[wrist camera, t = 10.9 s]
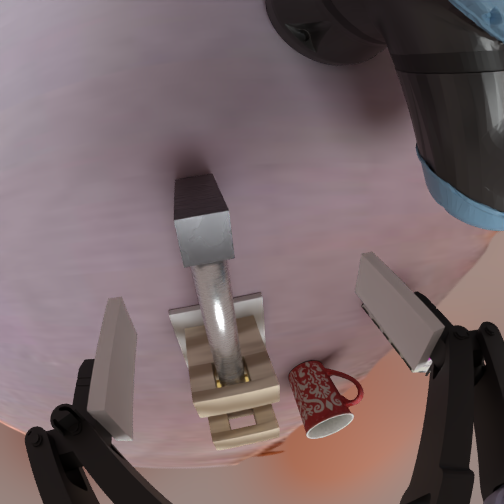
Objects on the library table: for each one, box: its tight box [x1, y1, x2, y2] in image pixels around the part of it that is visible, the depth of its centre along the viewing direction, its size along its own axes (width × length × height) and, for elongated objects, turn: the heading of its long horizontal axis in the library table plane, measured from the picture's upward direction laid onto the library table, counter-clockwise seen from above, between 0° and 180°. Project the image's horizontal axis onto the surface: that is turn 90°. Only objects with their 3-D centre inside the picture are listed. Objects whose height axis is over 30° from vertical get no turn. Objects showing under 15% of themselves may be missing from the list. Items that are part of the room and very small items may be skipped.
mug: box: [289, 361, 364, 439], centre depth 48 cm, size 13×9×14 cm
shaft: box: [174, 174, 246, 387], centre depth 31 cm, size 24×4×11 cm, turn 4°
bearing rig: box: [169, 293, 280, 450], centre depth 39 cm, size 20×13×14 cm, turn 4°
